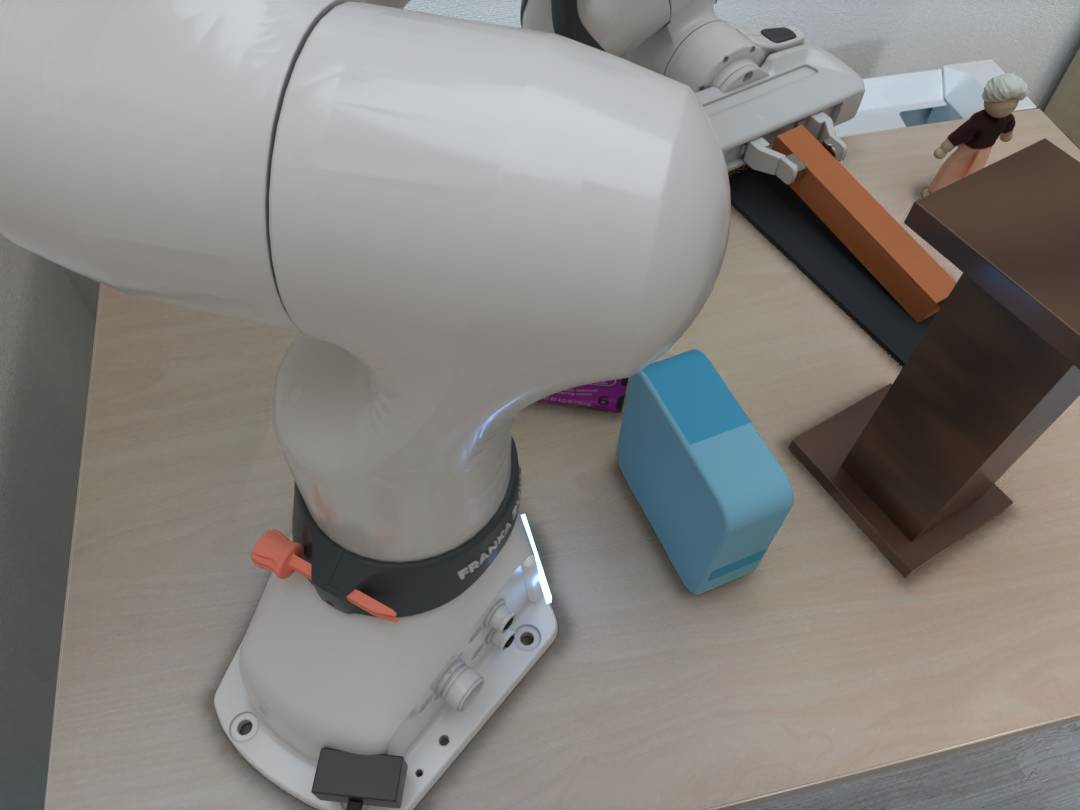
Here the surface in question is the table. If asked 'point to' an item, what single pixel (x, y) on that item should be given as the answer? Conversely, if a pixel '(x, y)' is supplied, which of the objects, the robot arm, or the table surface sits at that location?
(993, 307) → the stand
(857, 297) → the mat
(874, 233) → the terracotta beam
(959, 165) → the grandmother figurine
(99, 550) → the table surface
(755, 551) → the blue rounded case
